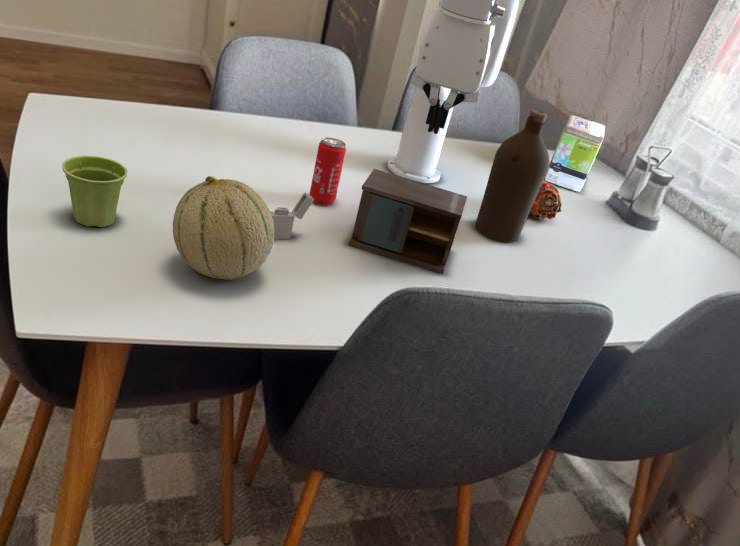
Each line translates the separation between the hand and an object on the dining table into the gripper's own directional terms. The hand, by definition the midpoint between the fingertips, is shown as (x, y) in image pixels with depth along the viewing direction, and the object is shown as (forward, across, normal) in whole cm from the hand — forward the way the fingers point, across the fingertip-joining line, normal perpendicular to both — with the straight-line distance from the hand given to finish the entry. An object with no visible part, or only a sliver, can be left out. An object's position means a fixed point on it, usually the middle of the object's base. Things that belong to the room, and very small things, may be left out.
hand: (433, 130), depth 112 cm
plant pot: (+24, +47, +18) cm, 56 cm away
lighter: (+24, +20, +4) cm, 31 cm away
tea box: (+25, -32, -76) cm, 87 cm away
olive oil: (+24, -17, -27) cm, 40 cm away
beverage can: (+24, +18, -16) cm, 34 cm away
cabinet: (+24, 0, -6) cm, 25 cm away
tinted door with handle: (+22, +4, +1) cm, 23 cm away
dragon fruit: (+24, -24, -43) cm, 55 cm away
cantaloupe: (+24, +24, +22) cm, 41 cm away
